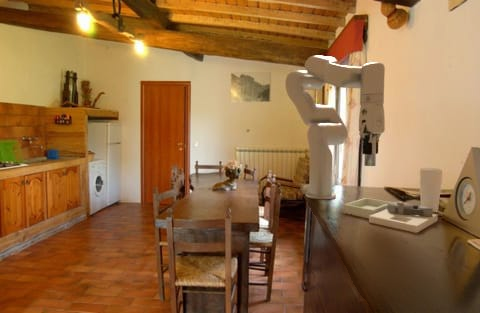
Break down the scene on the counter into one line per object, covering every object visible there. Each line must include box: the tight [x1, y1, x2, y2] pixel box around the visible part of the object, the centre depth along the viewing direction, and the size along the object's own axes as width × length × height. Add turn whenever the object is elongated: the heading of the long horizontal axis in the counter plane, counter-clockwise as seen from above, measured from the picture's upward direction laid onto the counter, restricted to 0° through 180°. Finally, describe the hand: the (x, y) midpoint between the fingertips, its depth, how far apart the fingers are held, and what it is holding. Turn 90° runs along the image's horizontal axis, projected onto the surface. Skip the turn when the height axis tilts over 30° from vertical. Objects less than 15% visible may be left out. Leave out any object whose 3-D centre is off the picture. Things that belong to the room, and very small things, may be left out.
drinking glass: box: [419, 167, 443, 213], centre depth 112 cm, size 7×7×15 cm
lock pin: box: [364, 131, 377, 167], centre depth 110 cm, size 5×5×13 cm
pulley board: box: [368, 201, 439, 234], centre depth 101 cm, size 14×17×5 cm
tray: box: [343, 197, 390, 219], centre depth 112 cm, size 10×15×3 cm
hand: (370, 153), depth 111 cm, fingers closed on lock pin, 3 cm apart
